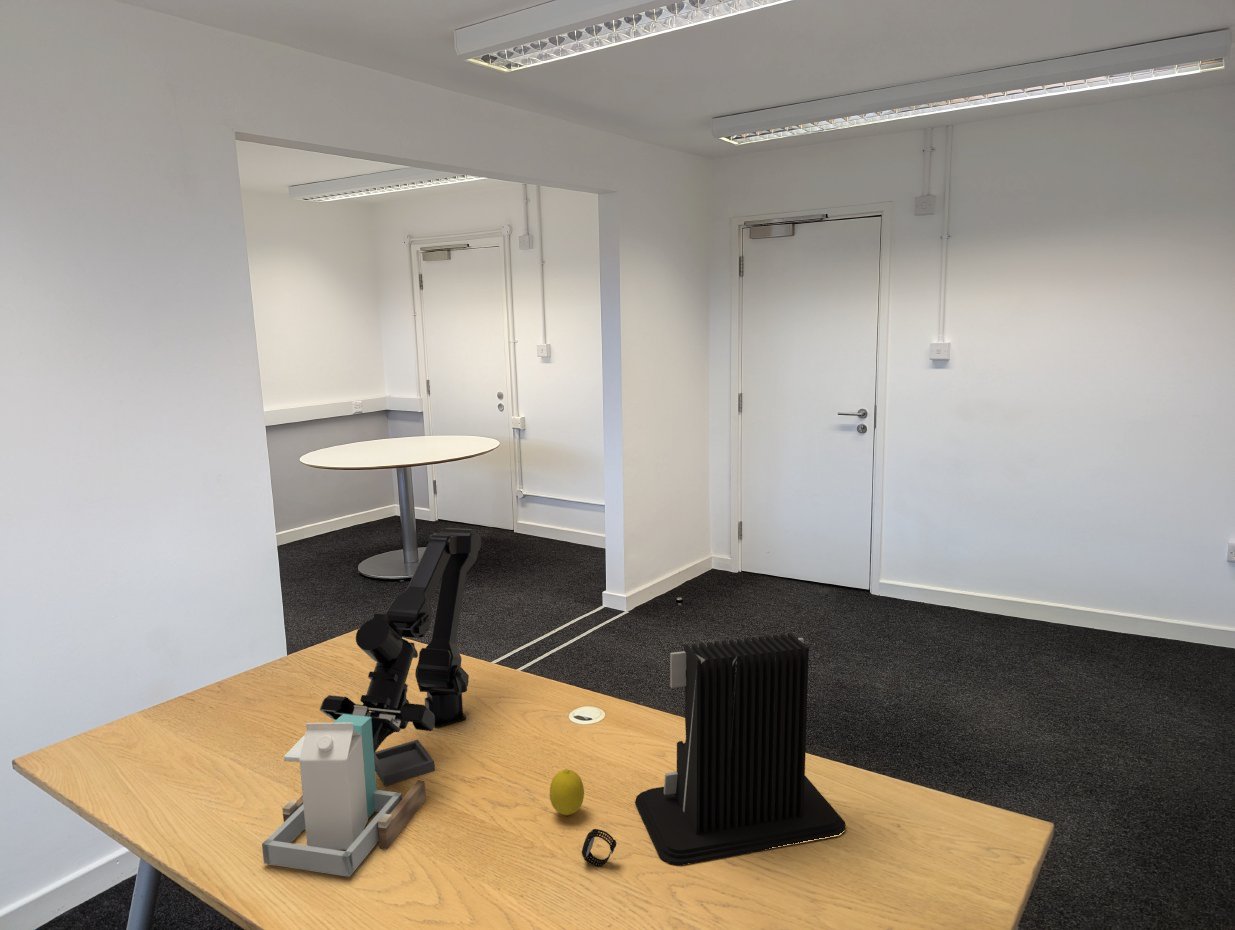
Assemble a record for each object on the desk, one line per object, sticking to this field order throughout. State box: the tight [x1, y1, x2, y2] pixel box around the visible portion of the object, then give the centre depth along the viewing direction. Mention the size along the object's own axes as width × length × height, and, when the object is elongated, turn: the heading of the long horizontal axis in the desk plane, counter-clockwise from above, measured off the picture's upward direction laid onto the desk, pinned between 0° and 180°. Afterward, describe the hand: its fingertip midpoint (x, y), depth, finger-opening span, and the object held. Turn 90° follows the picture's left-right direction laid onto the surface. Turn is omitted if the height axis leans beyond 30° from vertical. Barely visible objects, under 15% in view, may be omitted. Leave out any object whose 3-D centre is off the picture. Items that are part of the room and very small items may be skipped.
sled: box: [261, 714, 403, 878], centre depth 123 cm, size 16×14×16 cm
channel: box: [282, 779, 427, 850], centre depth 130 cm, size 13×18×4 cm
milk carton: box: [299, 722, 369, 851], centre depth 124 cm, size 7×7×19 cm
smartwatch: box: [581, 828, 617, 868], centre depth 118 cm, size 4×5×5 cm
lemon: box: [549, 768, 585, 817], centre depth 129 cm, size 6×6×8 cm
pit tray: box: [374, 739, 436, 787], centre depth 145 cm, size 9×9×2 cm
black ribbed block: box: [634, 632, 847, 866], centre depth 127 cm, size 30×19×30 cm, turn 104°
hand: (361, 765), depth 131 cm, fingers closed, pressing on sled
